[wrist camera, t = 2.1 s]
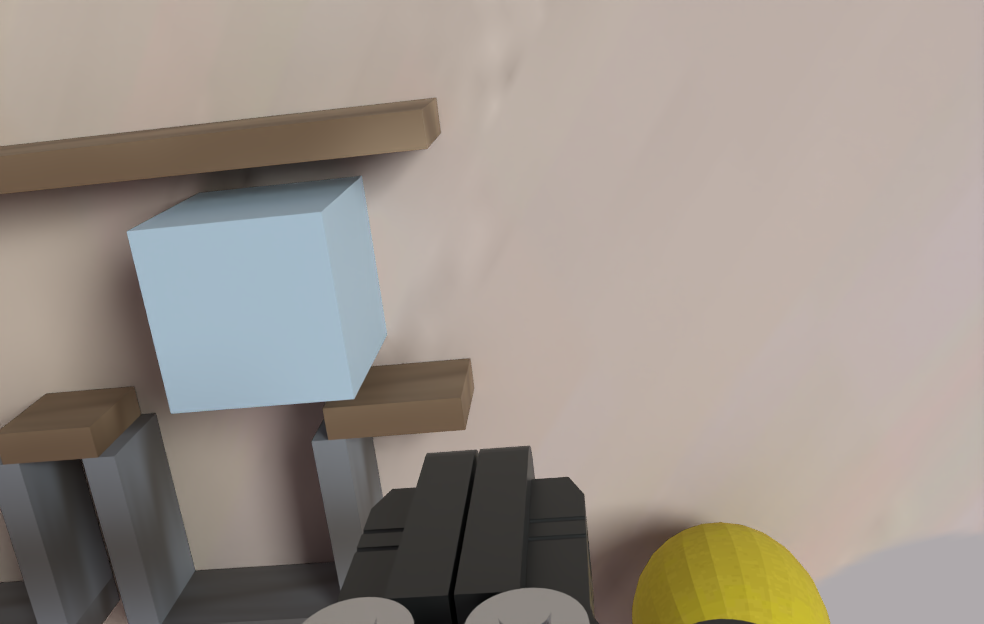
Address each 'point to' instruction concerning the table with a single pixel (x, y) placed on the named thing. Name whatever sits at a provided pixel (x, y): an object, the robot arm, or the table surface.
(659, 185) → the table surface
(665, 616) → the lemon
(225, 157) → the trap box
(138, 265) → the block
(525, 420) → the table surface
